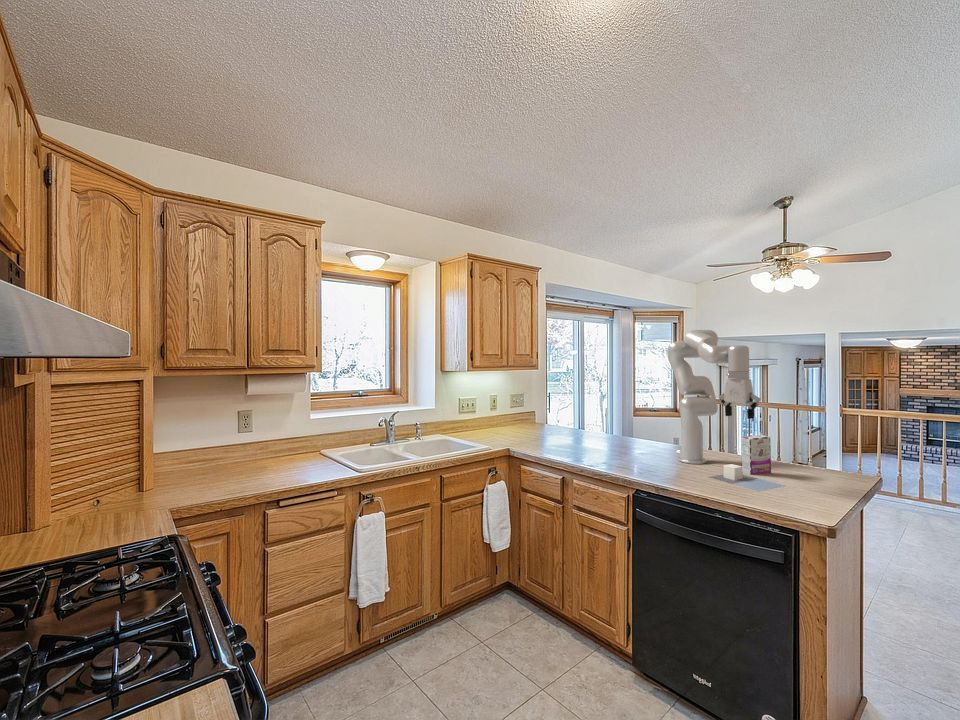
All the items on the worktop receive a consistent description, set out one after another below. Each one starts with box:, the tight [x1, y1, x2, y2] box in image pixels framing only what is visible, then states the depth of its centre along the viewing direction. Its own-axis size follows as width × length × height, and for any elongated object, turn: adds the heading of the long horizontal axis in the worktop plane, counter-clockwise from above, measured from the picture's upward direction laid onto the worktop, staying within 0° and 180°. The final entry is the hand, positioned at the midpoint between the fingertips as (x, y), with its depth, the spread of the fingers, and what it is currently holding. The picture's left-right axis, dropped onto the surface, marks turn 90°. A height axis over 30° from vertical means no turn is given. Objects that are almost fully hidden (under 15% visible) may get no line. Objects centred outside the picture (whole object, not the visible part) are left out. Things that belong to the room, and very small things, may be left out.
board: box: [708, 473, 786, 492], centre depth 184 cm, size 22×16×1 cm
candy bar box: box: [741, 434, 772, 476], centre depth 197 cm, size 11×5×16 cm, turn 105°
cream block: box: [722, 463, 744, 480], centre depth 189 cm, size 5×5×5 cm
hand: (739, 417), depth 186 cm, fingers open, 9 cm apart
